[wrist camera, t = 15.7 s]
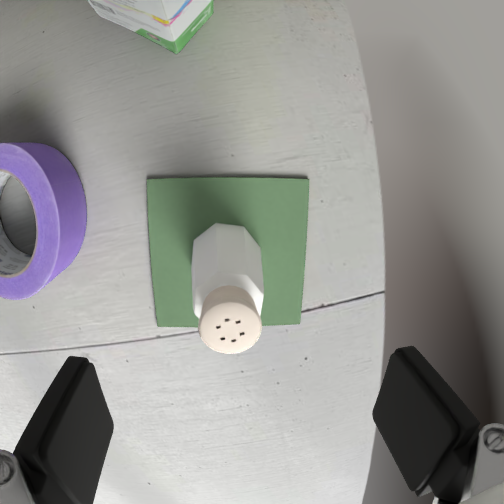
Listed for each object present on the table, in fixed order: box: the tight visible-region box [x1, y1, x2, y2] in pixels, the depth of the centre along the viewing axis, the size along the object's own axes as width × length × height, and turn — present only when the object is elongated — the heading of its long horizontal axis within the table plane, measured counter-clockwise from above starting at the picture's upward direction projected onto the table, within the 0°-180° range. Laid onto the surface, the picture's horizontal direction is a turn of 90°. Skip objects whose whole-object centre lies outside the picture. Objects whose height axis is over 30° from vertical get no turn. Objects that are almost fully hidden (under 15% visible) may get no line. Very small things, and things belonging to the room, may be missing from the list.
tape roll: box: [0, 143, 87, 300], centre depth 19 cm, size 12×12×5 cm
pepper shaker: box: [191, 223, 264, 354], centre depth 19 cm, size 5×5×11 cm
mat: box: [147, 177, 309, 327], centre depth 24 cm, size 12×12×1 cm
